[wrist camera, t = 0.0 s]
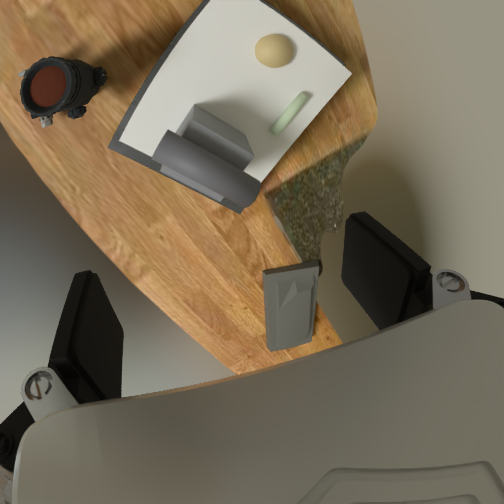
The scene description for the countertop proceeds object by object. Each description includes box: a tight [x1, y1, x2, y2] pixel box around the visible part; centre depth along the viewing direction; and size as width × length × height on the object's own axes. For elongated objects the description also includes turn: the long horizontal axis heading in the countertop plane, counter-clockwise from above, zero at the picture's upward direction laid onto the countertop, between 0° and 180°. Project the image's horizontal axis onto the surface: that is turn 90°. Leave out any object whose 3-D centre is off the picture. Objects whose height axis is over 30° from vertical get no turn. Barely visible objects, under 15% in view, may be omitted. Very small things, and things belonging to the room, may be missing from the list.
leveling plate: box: [119, 0, 352, 208], centre depth 28 cm, size 22×18×12 cm
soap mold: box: [263, 260, 319, 352], centre depth 56 cm, size 10×20×4 cm, turn 3°
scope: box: [18, 56, 107, 128], centre depth 23 cm, size 8×14×10 cm
